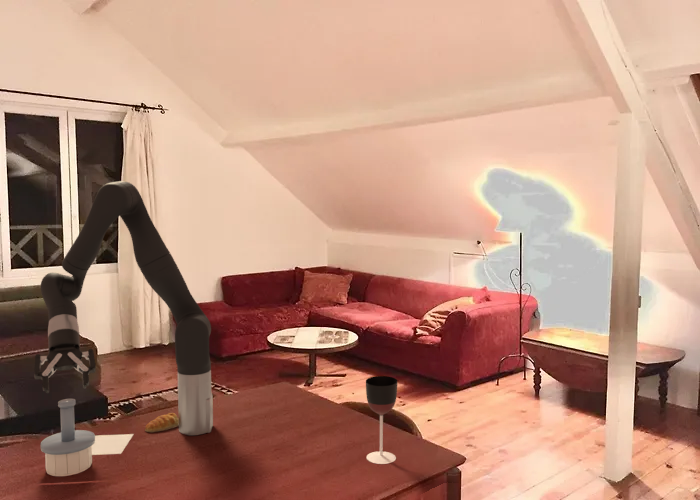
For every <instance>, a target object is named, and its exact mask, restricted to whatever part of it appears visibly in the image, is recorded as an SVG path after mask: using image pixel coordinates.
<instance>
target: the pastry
mask: <svg viewBox="0 0 700 500" xmlns="http://www.w3.org/2000/svg"><path fill="white" fill-rule="evenodd" d="M178 423H179V418H178V415H177V414H176V413H174V412H168V413H167V414H162V415H159V416H156V418H155V419H153V420H150V422H147V424H146V425H145V428H144V432H147V433H157V432H162V431H167V430H169V429H174V428H176V427H179V425H178Z"/></svg>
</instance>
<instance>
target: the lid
mask: <svg viewBox="0 0 700 500" xmlns="http://www.w3.org/2000/svg"><path fill="white" fill-rule="evenodd" d="M57 404H58V405H57V406H58V408H60V410H59V412H60V414H59V415H60V432H57V433H54V434H52V435H49V436H47V437H45V438H44V439H42V441H41V442H40V451H41V452H42V453H44V454H45V453H46V454H51V455H62V454H70V453H74V452H78V451H81V450H84V449H86V448H88V447H90V446H92V445H93V444H94V443H95V436H96V435H95V433H94V432H93V431H91V430H85V429H84V430H83V429H75V427H76V426H75V406H76V399H75V398H65V399H64V398H63V399H60V400H59V401H58V402H57Z"/></svg>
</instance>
